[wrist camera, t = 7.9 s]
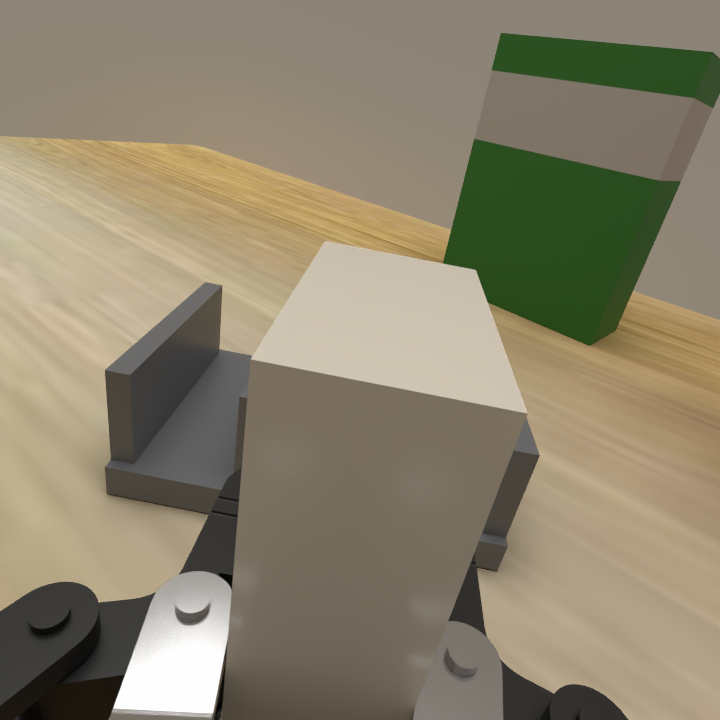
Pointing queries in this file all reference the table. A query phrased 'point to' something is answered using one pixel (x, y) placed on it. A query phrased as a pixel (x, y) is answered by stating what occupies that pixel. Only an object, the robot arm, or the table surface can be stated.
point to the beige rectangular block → (363, 484)
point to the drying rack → (220, 421)
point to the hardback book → (576, 174)
